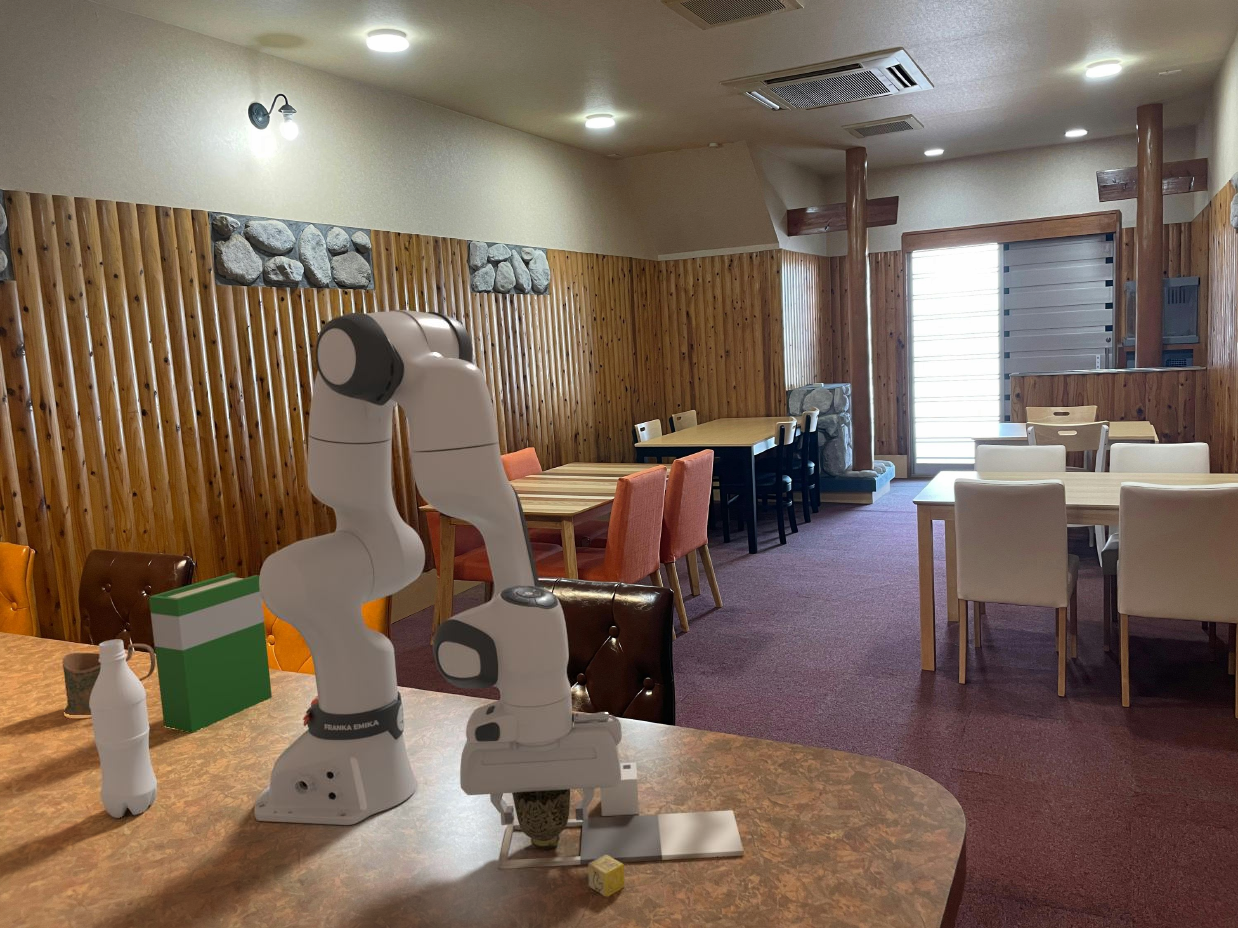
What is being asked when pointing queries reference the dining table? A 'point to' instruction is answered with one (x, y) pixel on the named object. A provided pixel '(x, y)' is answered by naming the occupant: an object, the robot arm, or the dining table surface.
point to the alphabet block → (606, 875)
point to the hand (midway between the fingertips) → (545, 820)
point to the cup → (543, 815)
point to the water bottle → (121, 734)
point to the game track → (644, 839)
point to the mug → (88, 677)
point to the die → (621, 793)
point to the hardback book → (210, 650)
